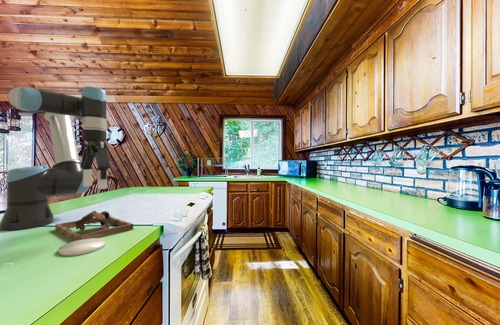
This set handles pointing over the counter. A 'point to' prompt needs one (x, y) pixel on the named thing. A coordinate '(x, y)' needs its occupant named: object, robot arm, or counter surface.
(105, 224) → the brown hollow round piece
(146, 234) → the counter surface
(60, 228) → the walnut frame
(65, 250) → the white dome
